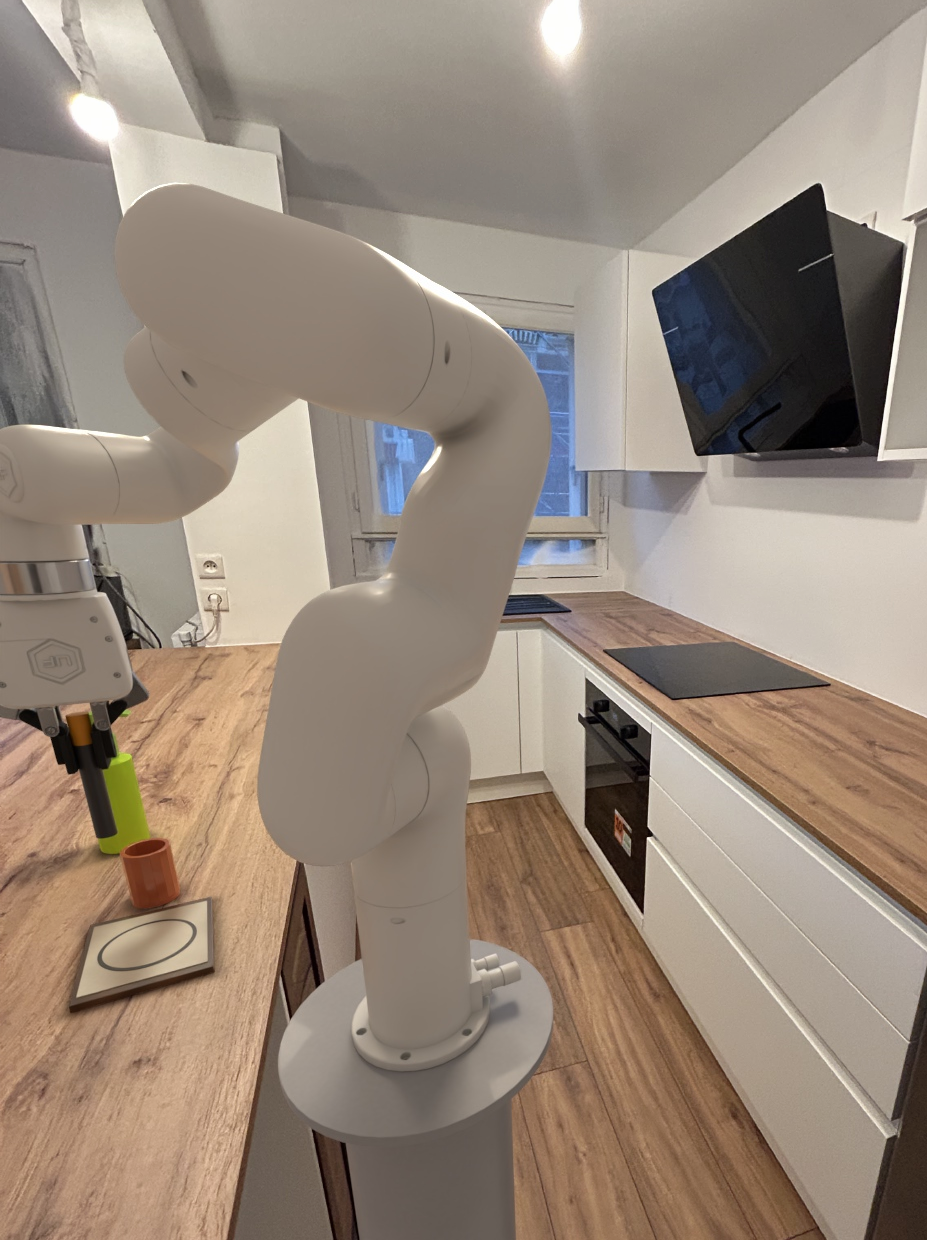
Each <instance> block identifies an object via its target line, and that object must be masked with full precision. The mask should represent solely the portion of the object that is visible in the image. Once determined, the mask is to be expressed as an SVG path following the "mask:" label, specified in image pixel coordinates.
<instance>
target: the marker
mask: <svg viewBox="0 0 927 1240" xmlns="http://www.w3.org/2000/svg"><path fill="white" fill-rule="evenodd" d="M88 712H89V711H77V712H71V713H68V714H66V715H65V716H64V717H65V721H66V724H67V726H68V729H69V733H70V736H71V740H72V744H73V748H74V752H75V756H76V760H77V764H78V767H79V770H78V772H79V776H80V779H81V784H82V787H83V791H84V795H85V799H86V803H87V807H88V810H89V811H88V812H89V815H90V819H91V823H92V826H93V830H94V831H93V832H94V834H95V838H96V839H98V838H99V839H103V838H109V837H112V836H114V835H116V834H117V833H118V831H117V827H116V823H115V818H114V814H113V810H112V806H111V802H110V798H109V794H108V790H107V786H106V781H105V777H104V773H103V770H102V769H99V767H98V763H97V759H96V755H95V751H94V748H93V744H92V740H91V735H90V733H91V731H92V730H93V728H92V724H91V720H90V716H89V713H88Z"/></svg>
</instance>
